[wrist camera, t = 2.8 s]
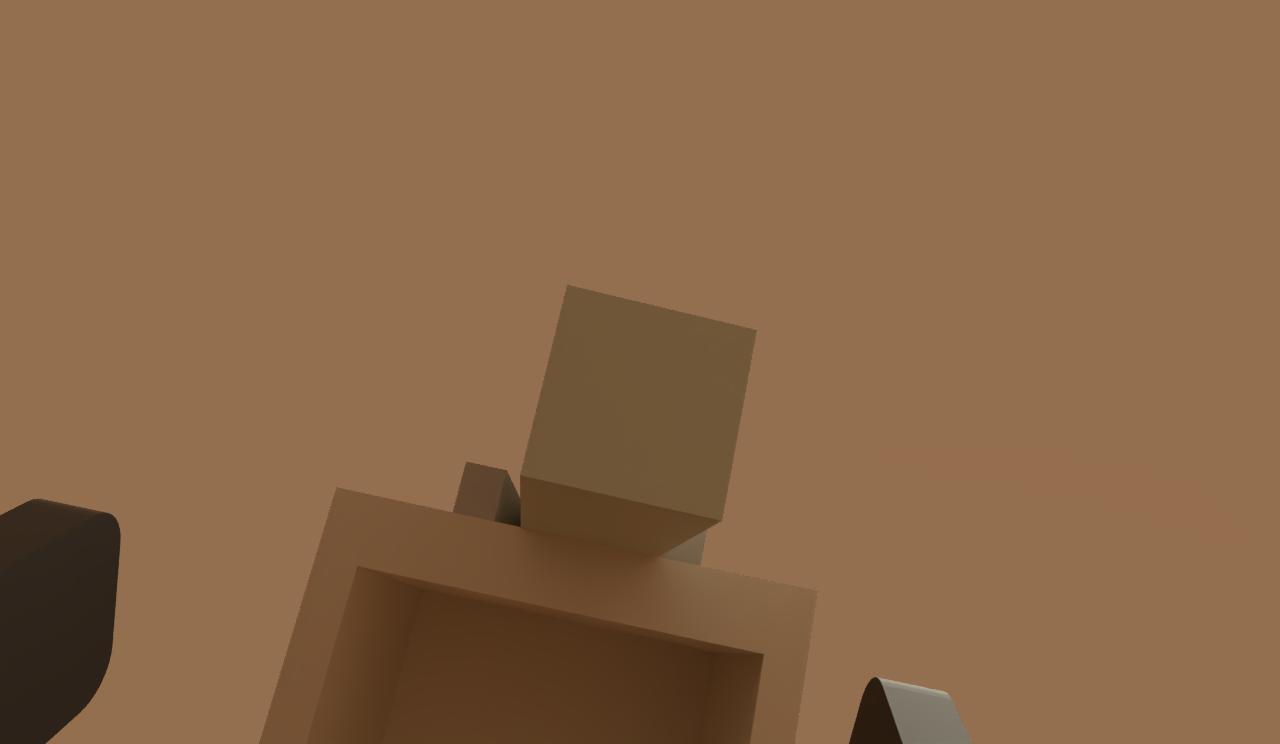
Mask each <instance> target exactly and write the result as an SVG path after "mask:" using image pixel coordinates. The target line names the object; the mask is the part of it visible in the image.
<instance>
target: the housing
mask: <svg viewBox="0 0 1280 744" xmlns="http://www.w3.org/2000/svg"><path fill="white" fill-rule="evenodd" d="M706 532H707V530H705V531H703V532H702V533H700V534H698V535H696V536H694V537H693V538H691V539H689V540H687V541H686V542H684V543H682V544H680V545H679V546H677V547H675V548H673V549H672V550H670V551H668V552H666V553H665V554H663V555H661V556H659V557H657V556H652V555H648V554H643V553H638V552H634V551H629V550H624V549H620V548H615V547H610V546H606V545H601V544H597V543H592V542H587V541H583V540H578V539H573V538H569V537H564V536H559V535H555V534H550V533H546V532H541V531H536V530H532V529H527V528H522V527H521V504H520V497H519V495H518V493H517V491H516V489H515V487H514V485H513V483H512V481H511V478H510V476H509V474H508V472H507V470H502V469H498V468H493V467H488V466H484V465H479V464H475V463H470V462H466V464H465V468H464V472H463V476H462V479H461V483H460V487H459V491H458V495H457V499H456V502H455V506H454V510H453V512H448V511H444V510H439V509H434V508H430V507H425V506H420V505H415V504H411V503H406V502H402V501H397V500H392V499H388V498H383V497H379V496H374V495H369V494H365V493H360V492H355V491H351V490H346V489H341V488H336V490H335V494H334V497H333V500H332V504H331V507H330V510H329V514H328V517H327V520H326V524H325V527H324V530H323V534H322V537H321V540H320V543H319V547H318V550H317V553H316V557H315V560H314V564H313V567H312V570H311V574H310V577H309V580H308V583H307V587H306V590H305V593H304V596H303V600H302V603H301V606H300V610H299V613H298V617H297V620H296V623H295V626H294V630H293V633H292V636H291V639H290V643H289V646H288V650H287V653H286V656H285V659H284V663H283V666H282V669H281V673H280V676H279V679H278V683H277V686H276V689H275V693H274V696H273V699H272V702H271V706H270V709H269V712H268V716H267V719H266V722H265V726H264V729H263V732H262V736H261V739H260V742H259V744H795V738H796V731H797V725H798V718H799V712H800V705H801V698H802V692H803V685H804V678H805V672H806V665H807V659H808V652H809V645H810V639H811V632H812V625H813V619H814V612H815V604H816V598H817V591H814V590H810V589H805V588H801V587H796V586H791V585H787V584H782V583H777V582H773V581H768V580H763V579H759V578H754V577H750V576H745V575H740V574H736V573H731V572H726V571H722V570H717V569H712V568H708V567H703V566H700V565H701V559H702V554H703V548H704V543H705V538H706Z"/></svg>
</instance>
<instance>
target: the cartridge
mask: <svg viewBox="0 0 1280 744" xmlns="http://www.w3.org/2000/svg"><path fill="white" fill-rule="evenodd" d="M756 331H757V330H753V329H750V328H745V327H741V326H737V325H733V324H729V323H724V322H720V321H716V320H712V319H708V318H704V317H699V316H695V315H691V314H687V313H682V312H678V311H674V310H670V309H666V308H662V307H658V306H653V305H649V304H645V303H641V302H637V301H632V300H628V299H624V298H620V297H616V296H611V295H607V294H603V293H599V292H595V291H591V290H586V289H582V288H578V287H574V286H570V285H567V288H566V292H565V296H564V300H563V304H562V308H561V312H560V316H559V320H558V324H557V329H556V332H555V336H554V340H553V344H552V349H551V352H550V357H549V361H548V365H547V369H546V373H545V377H544V381H543V385H542V389H541V393H540V397H539V401H538V406H537V409H536V413H535V417H534V421H533V425H532V429H531V434H530V438H529V442H528V446H527V450H526V454H525V458H524V462H523V466H522V470H521V474H520V493H521V494H520V504H521V527H522V528H527V529H532V530H536V531H541V532H546V533H550V534H555V535H559V536H564V537H569V538H573V539H578V540H583V541H587V542H592V543H597V544H601V545H606V546H610V547H615V548H620V549H624V550H629V551H634V552H638V553H643V554H648V555H652V556H657V557H659V556H661V555H663V554H665V553H666V552H668V551H670V550H672V549H673V548H675V547H677V546H679V545H680V544H682V543H684V542H686V541H687V540H689V539H691V538H693V537H694V536H696V535H698V534H700V533H702V532H703V531H705V530H707V529H708V528H710V527H712V526H714V525H716V524H717V523H719V522H721V521H722V518H723V513H724V507H725V502H726V496H727V491H728V485H729V479H730V474H731V469H732V464H733V458H734V453H735V446H736V442H737V436H738V431H739V425H740V419H741V414H742V408H743V403H744V398H745V392H746V387H747V381H748V376H749V370H750V364H751V359H752V354H753V348H754V343H755V337H756Z"/></svg>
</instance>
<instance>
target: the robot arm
mask: <svg viewBox="0 0 1280 744" xmlns="http://www.w3.org/2000/svg"><path fill="white" fill-rule="evenodd" d="M119 554H120V528H119V524H118V522H117V520H116V518H115V517H114V516H113V515H111V514H109V513H105V512H100V511H95V510H91V509H86V508H81V507H76V506H72V505H67V504H62V503H57V502H52V501H48V500H43V499H33V500H31V501H28V502H26V503H24V504H22V505H20V506H18V507H16V508H14V509H12V510H10V511H8V512H6V513H4V514H2V515H0V744H45V743H47V742H48V741H49V740H50V739H51V738H52V737H53V736H54V735H56V734H57V733H58V732H59V731H60V730H61V729H62V728H63V727H64V726H66V725H67V724H68V723H69V722H70V721H71V720H72V719H73V718H74V717H76V716H77V715H78V714H79V713H80V712H81V711H82V710H83V709H84V708H85V707H86V706H87V704H88V703H89V702H90V701H91V699H92V698H93V696H94V695H95V693H96V691H97V690H98V688H99V686H100V684H101V682H102V680H103V678H104V675H105V673H106V670H107V667H108V664H109V661H110V656H111V652H112V643H113V630H114V618H115V604H116V592H117V579H118V566H119ZM849 744H972V742H971V740H970V738H969V735H968V733H967V731H966V729H965V727H964V725H963V723H962V720H961V718H960V716H959V714H958V712H957V710H956V708H955V706H954V703H953V701H952V699H951V697H950V696H949V695H948V694H947V693H946V692H943V691H939V690H934V689H930V688H925V687H920V686H915V685H911V684H906V683H901V682H897V681H892V680H887V679H882V678H878V677H875V678H872V679H871V680H870V682H869V683H868V685H867V686H866V688H865V691H864V693H863V696H862V700H861V703H860V706H859V710H858V713H857V717H856V721H855V724H854V728H853V731H852V735H851V738H850V742H849Z"/></svg>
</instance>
